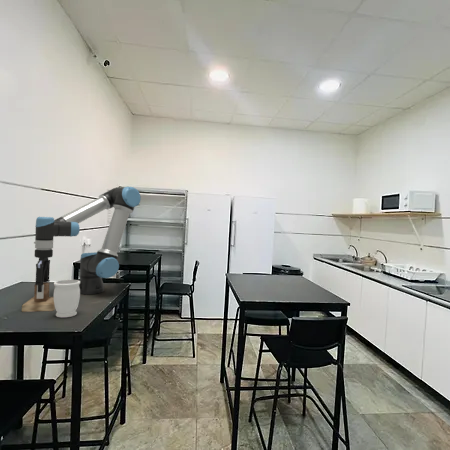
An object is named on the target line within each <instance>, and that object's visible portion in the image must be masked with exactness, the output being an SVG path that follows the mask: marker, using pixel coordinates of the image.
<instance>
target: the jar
mask: <svg viewBox="0 0 450 450" xmlns="http://www.w3.org/2000/svg"><path fill="white" fill-rule="evenodd" d="M79 284H80V281H79V280H77V279H63V280H62V279H61V280H58V281H57V280H56V281H54V282H53V285H54V290H53V297H54V305H55V311H56V313H55V317H57V318H70V317H74V316H76V315H78V312H77V308H78V307H79V302H80V299H81V294H80V287H79Z"/></svg>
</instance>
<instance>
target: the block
mask: <svg viewBox="0 0 450 450" xmlns="http://www.w3.org/2000/svg"><path fill="white" fill-rule="evenodd" d="M43 285H44V297H43V299H37V285H35V284H34V289H33V290H34V292H33V293H34V295H33V297H34V302H46V301H47V300H48V299H49V297H50V282H48V283H43Z"/></svg>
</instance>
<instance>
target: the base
mask: <svg viewBox="0 0 450 450" xmlns="http://www.w3.org/2000/svg"><path fill="white" fill-rule="evenodd" d="M54 311H56V309H55V305H54V296H49V299H48V300H47V301H46V302H34V296H33V297H31V298H29V300H27V301H25V302H24V303H23V304H22V305H21V312H22V313H26V312H28V313H30V312H32V313H33V312H54Z"/></svg>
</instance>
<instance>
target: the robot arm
mask: <svg viewBox="0 0 450 450" xmlns="http://www.w3.org/2000/svg"><path fill="white" fill-rule="evenodd" d="M141 197H142V196H141V193H140V191H139V190H138V189H137V188H135V187H134V186H121V187H120V186H119V187H114V188H111V189H109V190H108V191H106V192H103V193H102V194H100V195H99V196H98V198H96V199H94V200H91V201H90V202H88V203H85V204H83V205H82V206H79V207H78V208H75V209H74V210H71V211H69V212H67V213H66V214H64V215H62V216H60V217H58V218H56V219H55V218H54V217H51V216H38V217H36V220H35V241H34V242H33V244H34V248H35V249H34V258H36V259H37V258H38V261H37V263H36V264H35V284H34V286H35V285H37V299H43V297H44V285H43V283H51V282H50V281H51V280H50V269H51V268H50V267H51V266H50V263H51V260H50V259H49V258H53V254H54V253H53V252H54V250H53V249H54V237H70V238H71V237H77V236H78V235H79V234H80V229H81V228H80V223H82V222H84V221H86V220H87V219H89V218H92V217H93V216H95V215H96V214H99V213H101V212H102V211H105V210H110V209H113V208H114V210H113V214H112V215H111V219H110V222H109V226H108V228H107V231H106V234H105V236H104V240H103V243H102V245H101V248H100V249H98V250H97V252H83V253H81V254H80V259H79V261H80V263H79V264H80V265H79V267H80V268H79V269H80V271H79V272H80V273H79V280H78V281H80V284H79V287H80V295H95V294H100V293H103V292H104V291H105V285H104V281H103V279H109V278H112V277H114V276H115V275H116V274H117V273H118V271H119V268H120V264H119V261H118V259H119V255H118V250H119V247H120V245H121V244H120V243H121V240H122V238H123V235H124V233H125V232H124V231H125V229H126V225H127V222H128V219H129V216H130V214H133V212H134V209H135V208H136V207H137V206H139V205H140V203H141V200H142V199H141Z"/></svg>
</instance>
